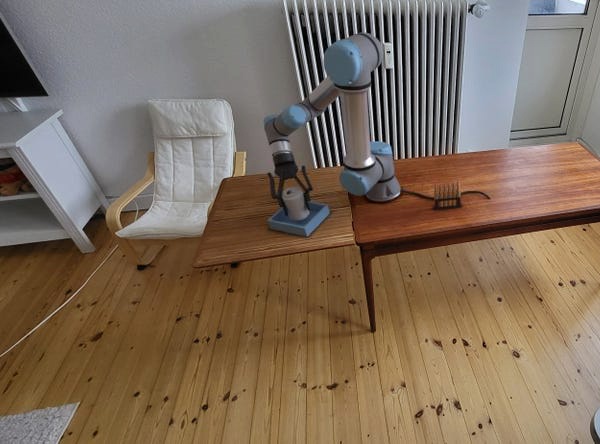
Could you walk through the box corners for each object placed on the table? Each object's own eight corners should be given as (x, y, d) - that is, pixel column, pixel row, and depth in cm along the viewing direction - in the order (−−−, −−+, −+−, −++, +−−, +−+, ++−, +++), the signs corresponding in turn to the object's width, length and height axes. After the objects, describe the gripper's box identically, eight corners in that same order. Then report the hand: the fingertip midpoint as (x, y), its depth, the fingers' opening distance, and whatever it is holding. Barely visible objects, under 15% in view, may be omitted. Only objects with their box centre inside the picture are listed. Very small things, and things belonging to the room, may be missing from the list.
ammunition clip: (460, 204, 153) (460, 179, 146) (460, 207, 152) (461, 182, 144) (434, 207, 152) (433, 182, 145) (435, 209, 151) (433, 184, 143)
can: (292, 211, 148) (283, 186, 141) (311, 210, 149) (303, 184, 141) (288, 222, 142) (278, 197, 135) (307, 221, 143) (299, 195, 135)
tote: (330, 212, 151) (327, 204, 148) (307, 236, 139) (304, 228, 137) (295, 206, 155) (292, 198, 152) (270, 228, 143) (267, 220, 141)
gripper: (311, 153, 149) (325, 207, 147) (256, 164, 143) (271, 220, 141) (308, 146, 142) (324, 203, 140) (251, 157, 136) (266, 217, 134)
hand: (297, 212), depth 140 cm, fingers closed on can, 7 cm apart
